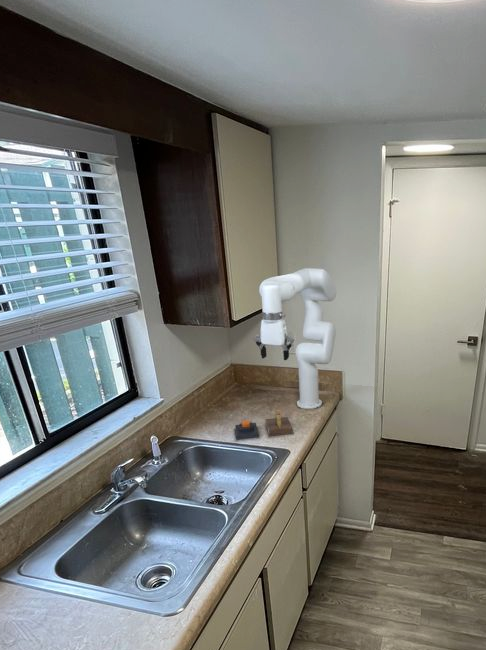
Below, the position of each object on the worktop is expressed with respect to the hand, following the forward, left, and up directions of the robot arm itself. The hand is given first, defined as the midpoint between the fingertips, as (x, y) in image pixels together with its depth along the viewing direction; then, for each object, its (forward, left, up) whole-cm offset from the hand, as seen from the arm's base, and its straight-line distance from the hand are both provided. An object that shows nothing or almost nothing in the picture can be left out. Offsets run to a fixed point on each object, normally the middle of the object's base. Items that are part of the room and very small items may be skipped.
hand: (275, 358), depth 178 cm
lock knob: (-2, 0, -30) cm, 30 cm away
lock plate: (-2, 0, -33) cm, 33 cm away
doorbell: (-2, -14, -33) cm, 36 cm away
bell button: (-2, -14, -30) cm, 33 cm away
